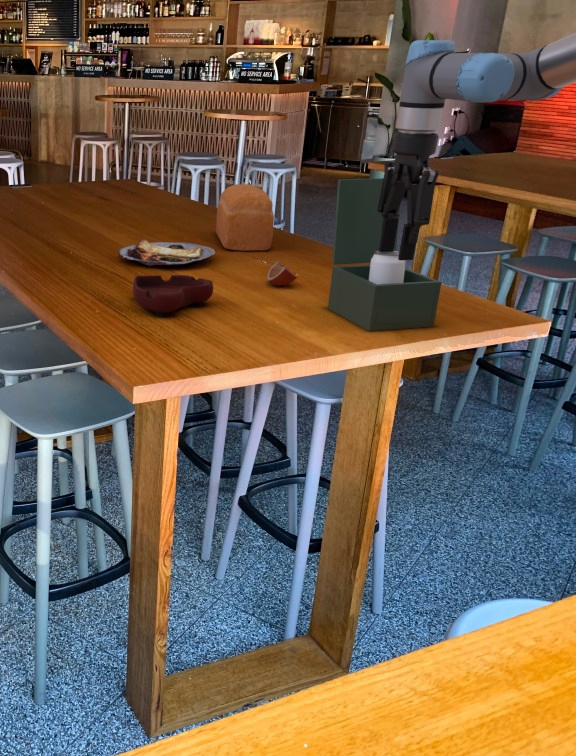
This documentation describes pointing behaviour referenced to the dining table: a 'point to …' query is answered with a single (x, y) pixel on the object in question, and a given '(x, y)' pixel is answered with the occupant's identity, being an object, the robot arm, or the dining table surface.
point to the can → (386, 268)
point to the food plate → (165, 253)
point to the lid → (358, 221)
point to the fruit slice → (280, 275)
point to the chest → (383, 299)
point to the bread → (245, 218)
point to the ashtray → (170, 292)
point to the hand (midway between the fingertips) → (395, 255)
